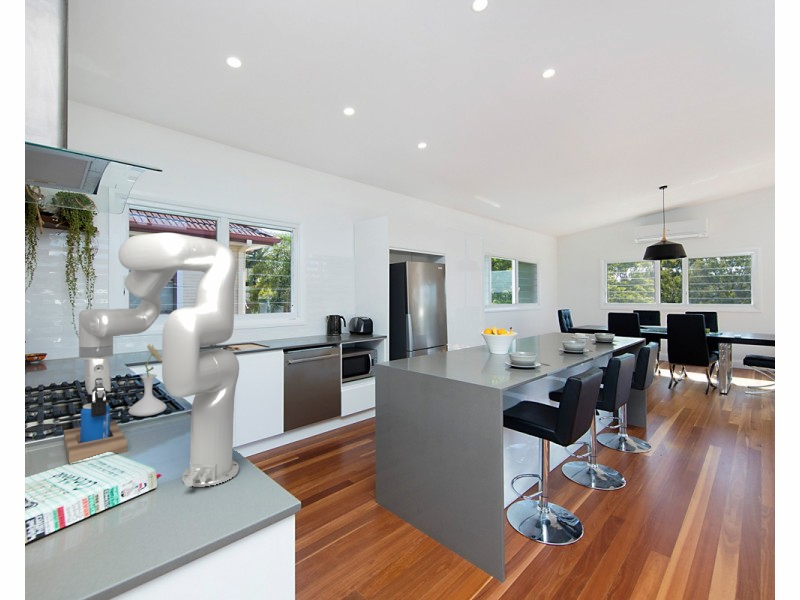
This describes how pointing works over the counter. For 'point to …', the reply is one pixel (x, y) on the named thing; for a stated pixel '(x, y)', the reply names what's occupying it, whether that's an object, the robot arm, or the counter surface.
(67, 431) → the block
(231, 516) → the counter surface
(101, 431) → the beverage can
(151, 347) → the flower in vase
